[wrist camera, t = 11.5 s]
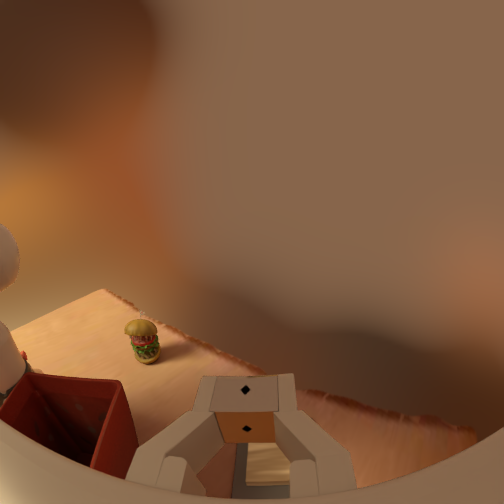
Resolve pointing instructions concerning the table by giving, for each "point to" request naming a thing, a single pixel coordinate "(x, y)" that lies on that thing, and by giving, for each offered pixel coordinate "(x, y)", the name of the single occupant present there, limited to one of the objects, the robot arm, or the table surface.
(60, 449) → the plant pot
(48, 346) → the table surface
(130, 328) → the hamburger
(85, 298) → the table surface
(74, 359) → the table surface
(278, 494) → the mat
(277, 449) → the picture frame
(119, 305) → the table surface
